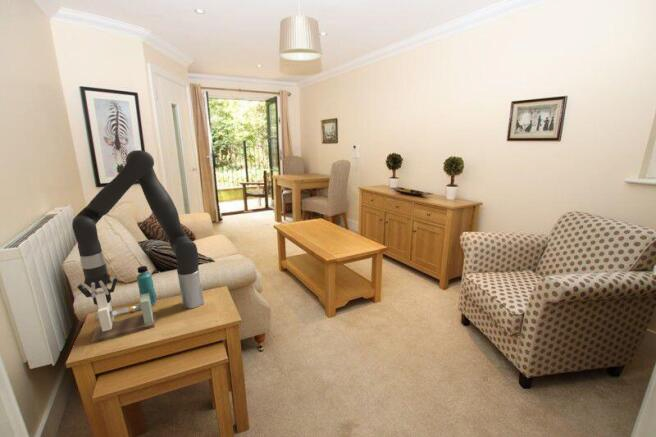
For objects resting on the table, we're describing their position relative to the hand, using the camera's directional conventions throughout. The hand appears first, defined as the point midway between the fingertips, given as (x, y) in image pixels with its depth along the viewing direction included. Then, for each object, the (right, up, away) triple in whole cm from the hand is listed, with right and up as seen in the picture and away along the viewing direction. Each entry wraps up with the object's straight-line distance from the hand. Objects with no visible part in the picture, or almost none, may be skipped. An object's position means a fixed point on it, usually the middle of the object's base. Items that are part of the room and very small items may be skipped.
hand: (103, 303), depth 127 cm
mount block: (+13, -10, +9) cm, 19 cm away
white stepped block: (0, -10, +3) cm, 10 cm away
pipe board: (+5, -12, +6) cm, 15 cm away
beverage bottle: (+5, -8, +24) cm, 26 cm away
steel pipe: (+5, -6, +4) cm, 9 cm away
